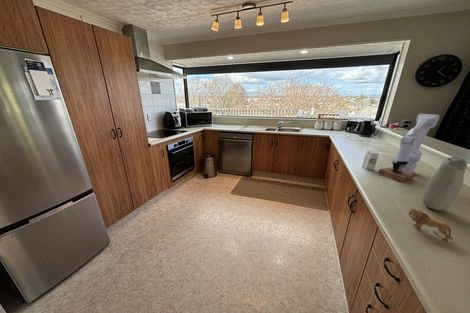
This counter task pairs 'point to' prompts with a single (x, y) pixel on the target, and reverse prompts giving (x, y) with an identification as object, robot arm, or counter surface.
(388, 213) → the counter surface
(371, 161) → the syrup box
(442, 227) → the lion figurine
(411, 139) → the robot arm
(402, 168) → the grey cylinder
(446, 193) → the white vase
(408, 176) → the bead block
